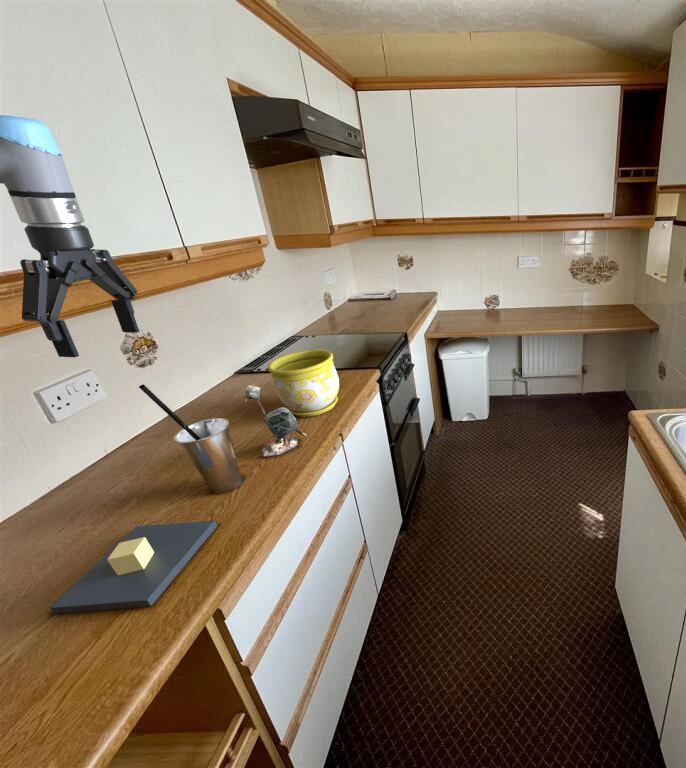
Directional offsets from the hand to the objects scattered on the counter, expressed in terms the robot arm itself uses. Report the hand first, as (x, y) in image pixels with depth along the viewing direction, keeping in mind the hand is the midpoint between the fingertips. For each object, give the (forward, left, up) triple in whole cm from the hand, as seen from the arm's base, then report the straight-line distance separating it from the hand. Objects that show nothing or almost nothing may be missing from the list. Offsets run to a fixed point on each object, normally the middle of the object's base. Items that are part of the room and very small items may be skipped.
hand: (102, 343), depth 78 cm
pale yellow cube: (+7, -21, -36) cm, 42 cm away
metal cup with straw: (+9, +2, -37) cm, 38 cm away
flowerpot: (+15, +40, -37) cm, 56 cm away
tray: (+7, -20, -37) cm, 43 cm away
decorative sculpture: (+16, +17, -37) cm, 44 cm away
